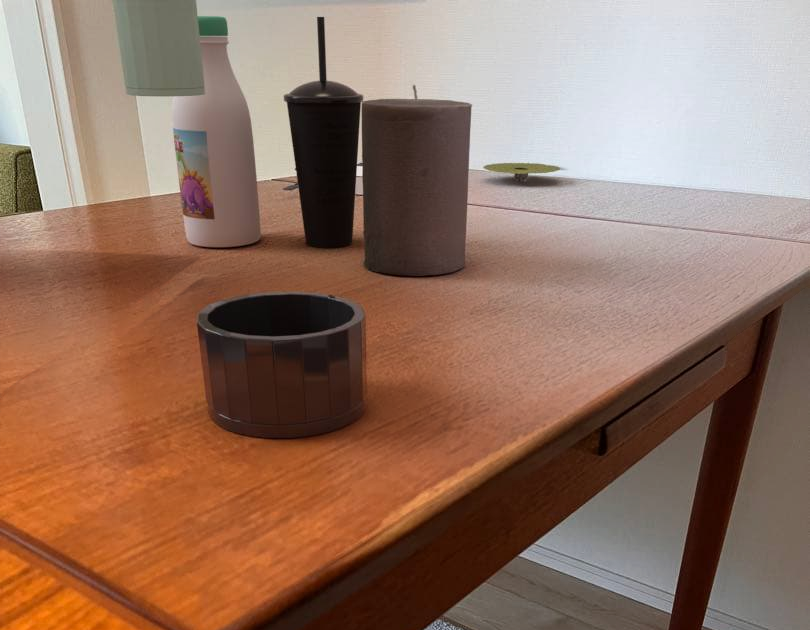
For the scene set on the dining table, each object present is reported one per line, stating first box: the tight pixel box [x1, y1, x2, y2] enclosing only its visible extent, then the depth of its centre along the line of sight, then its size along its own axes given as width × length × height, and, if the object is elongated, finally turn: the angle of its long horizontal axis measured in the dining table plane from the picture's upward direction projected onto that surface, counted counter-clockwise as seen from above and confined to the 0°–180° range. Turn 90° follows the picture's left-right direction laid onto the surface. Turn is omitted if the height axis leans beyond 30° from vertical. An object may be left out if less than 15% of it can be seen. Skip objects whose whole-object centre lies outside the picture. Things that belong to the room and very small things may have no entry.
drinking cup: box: [283, 16, 365, 249], centre depth 82 cm, size 8×8×20 cm
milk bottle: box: [171, 15, 262, 248], centre depth 83 cm, size 8×8×20 cm
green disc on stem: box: [482, 162, 561, 183], centre depth 124 cm, size 11×11×2 cm
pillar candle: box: [361, 84, 473, 277], centre depth 76 cm, size 10×10×15 cm
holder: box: [196, 291, 368, 439], centre depth 48 cm, size 9×9×6 cm
